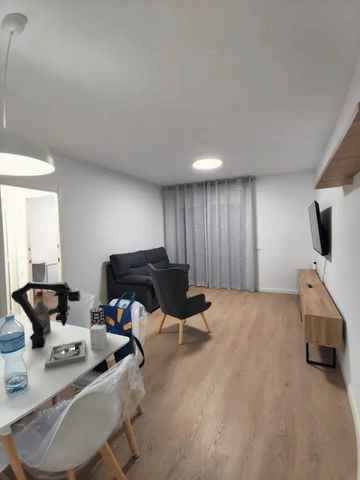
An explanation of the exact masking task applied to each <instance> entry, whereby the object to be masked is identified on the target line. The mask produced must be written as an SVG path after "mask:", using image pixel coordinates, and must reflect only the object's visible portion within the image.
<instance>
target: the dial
mask: <svg viewBox="0 0 360 480" xmlns="http://www.w3.org/2000/svg"><path fill="white" fill-rule="evenodd" d="M79 352H80V347H79V343H75V344H71V345H65V346H62V347H60V348H58V349H56V350H55V351H54V353H53V357H54V358H55V359H57V360H58V359H63V358H68V357H73V356H76V355H77V354H78V353H79Z"/></svg>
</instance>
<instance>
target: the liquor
mask: <svg viewBox="0 0 360 480" xmlns="http://www.w3.org/2000/svg"><path fill="white" fill-rule="evenodd" d="M43 291H44V290H38V291H36V299H37V300H36V301H37V304H36V306H35V307H34V308H33V309H34V311H35V312H36V314H37V316H38V317H39V319H40V320H42V321H43V320H45V322H46V324H48V325H47V330H46V331H45V332H44V334H43V335H44V336H45V335H47V334H49V333H50V332H51V329H52V328H51V316H50V315H49V314H48V310H49V309H50V308H49V307H48V306H47V305H45V304H44V303H45V302H44V297H43V296H44V293H43Z"/></svg>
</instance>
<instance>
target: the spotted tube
mask: <svg viewBox="0 0 360 480" xmlns="http://www.w3.org/2000/svg"><path fill="white" fill-rule="evenodd" d="M89 313H90V314H89V315H90V328H91V327H92V326H93V325H105V314H104V313H105V312H104V307H94V308H91V309H90V310H89Z"/></svg>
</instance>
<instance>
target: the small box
mask: <svg viewBox="0 0 360 480" xmlns="http://www.w3.org/2000/svg"><path fill="white" fill-rule="evenodd" d="M89 337H90V338H89V339H90V350H92V351H93V350H104V349H106V347H107V345H108V337H107V325H106V324H104V325H93V326H92V327H91V326H90V329H89Z"/></svg>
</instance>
